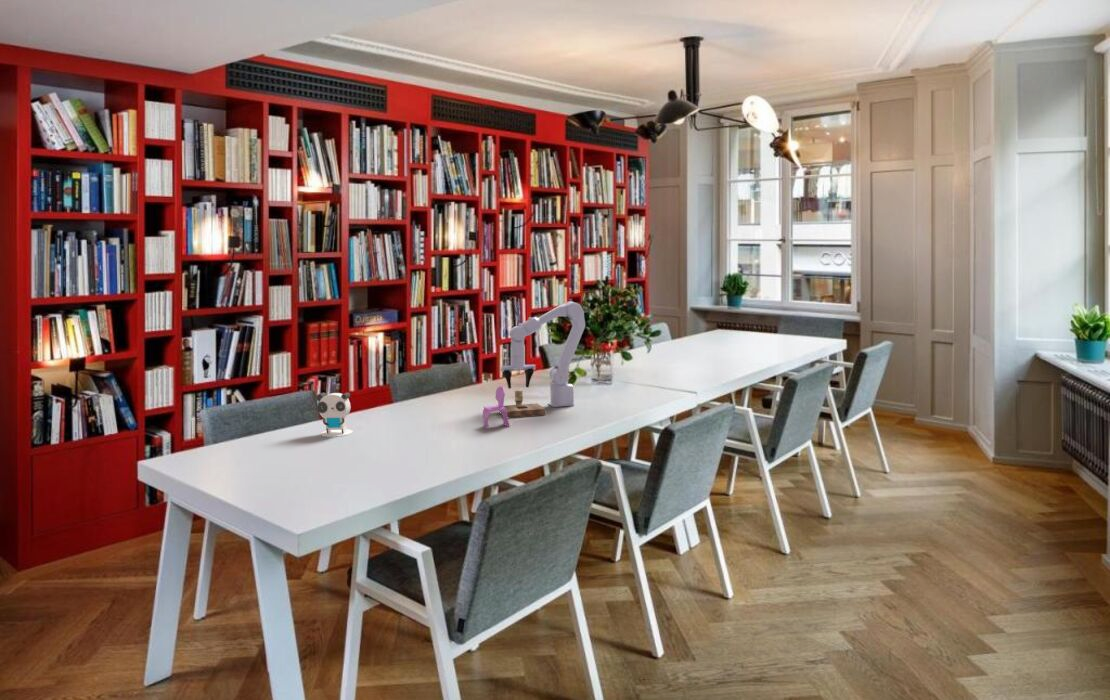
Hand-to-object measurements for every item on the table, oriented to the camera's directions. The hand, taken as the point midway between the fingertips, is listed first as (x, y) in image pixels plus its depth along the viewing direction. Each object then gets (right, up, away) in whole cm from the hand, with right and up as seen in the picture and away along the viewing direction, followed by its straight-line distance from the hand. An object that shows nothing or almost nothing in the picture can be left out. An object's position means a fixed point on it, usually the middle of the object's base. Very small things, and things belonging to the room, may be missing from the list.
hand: (518, 387), depth 340 cm
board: (+2, -10, -12) cm, 16 cm away
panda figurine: (-65, -15, -41) cm, 79 cm away
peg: (0, -8, +1) cm, 8 cm away
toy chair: (-7, -13, -34) cm, 37 cm away
